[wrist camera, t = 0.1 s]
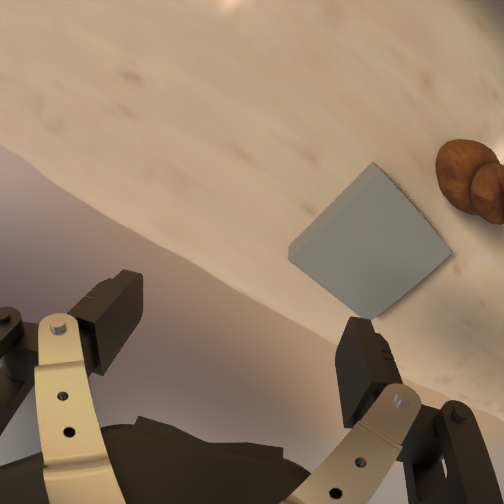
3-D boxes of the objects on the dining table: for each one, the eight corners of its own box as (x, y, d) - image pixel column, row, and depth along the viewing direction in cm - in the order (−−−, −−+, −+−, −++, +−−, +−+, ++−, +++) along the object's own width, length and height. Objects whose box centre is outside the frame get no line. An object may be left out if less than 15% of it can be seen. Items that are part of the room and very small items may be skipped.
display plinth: (372, 161, 29) (380, 169, 27) (442, 240, 32) (452, 252, 30) (288, 246, 35) (288, 260, 33) (364, 307, 38) (368, 322, 36)
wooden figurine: (469, 193, 29) (545, 263, 16) (426, 192, 30) (495, 267, 17) (474, 134, 26) (565, 179, 13) (429, 131, 27) (514, 173, 14)
